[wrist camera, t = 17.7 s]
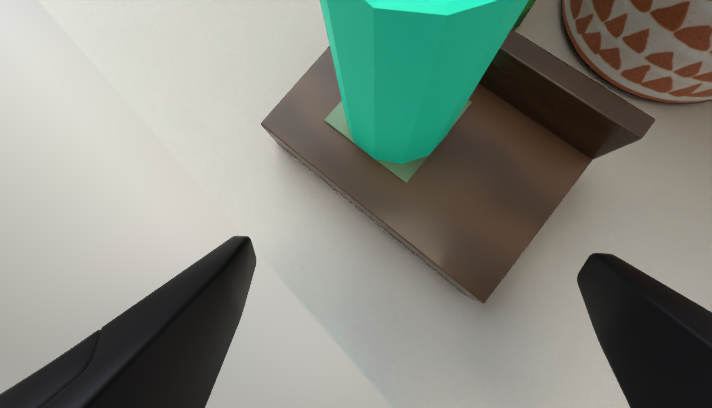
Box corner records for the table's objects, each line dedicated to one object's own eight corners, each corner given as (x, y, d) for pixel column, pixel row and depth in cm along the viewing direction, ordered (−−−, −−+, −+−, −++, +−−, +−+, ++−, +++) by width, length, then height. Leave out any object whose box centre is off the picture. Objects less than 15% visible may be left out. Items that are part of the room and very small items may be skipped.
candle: (383, 184, 16) (405, 9, 5) (326, 101, 17) (222, -218, 6) (473, 126, 17) (715, -186, 5) (411, 47, 18) (485, -372, 6)
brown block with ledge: (466, 295, 18) (510, 316, 12) (276, 142, 21) (236, 97, 15) (570, 160, 19) (657, 119, 13) (376, 28, 22) (376, -57, 16)
